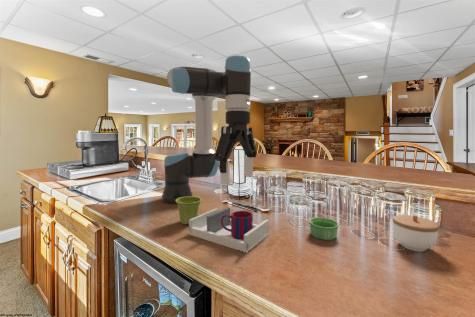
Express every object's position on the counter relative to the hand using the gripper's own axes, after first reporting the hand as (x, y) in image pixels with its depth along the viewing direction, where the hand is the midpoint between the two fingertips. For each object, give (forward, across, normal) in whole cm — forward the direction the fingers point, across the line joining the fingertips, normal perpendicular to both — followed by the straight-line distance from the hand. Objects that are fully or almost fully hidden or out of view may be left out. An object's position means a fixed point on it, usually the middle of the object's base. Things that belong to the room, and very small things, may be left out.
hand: (237, 180), depth 72 cm
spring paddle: (+17, 0, +7) cm, 19 cm away
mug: (+18, 0, 0) cm, 18 cm away
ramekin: (+19, +17, -23) cm, 34 cm away
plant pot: (+19, +1, +22) cm, 29 cm away
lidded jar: (+19, +23, -47) cm, 55 cm away
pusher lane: (+19, 0, +3) cm, 19 cm away
